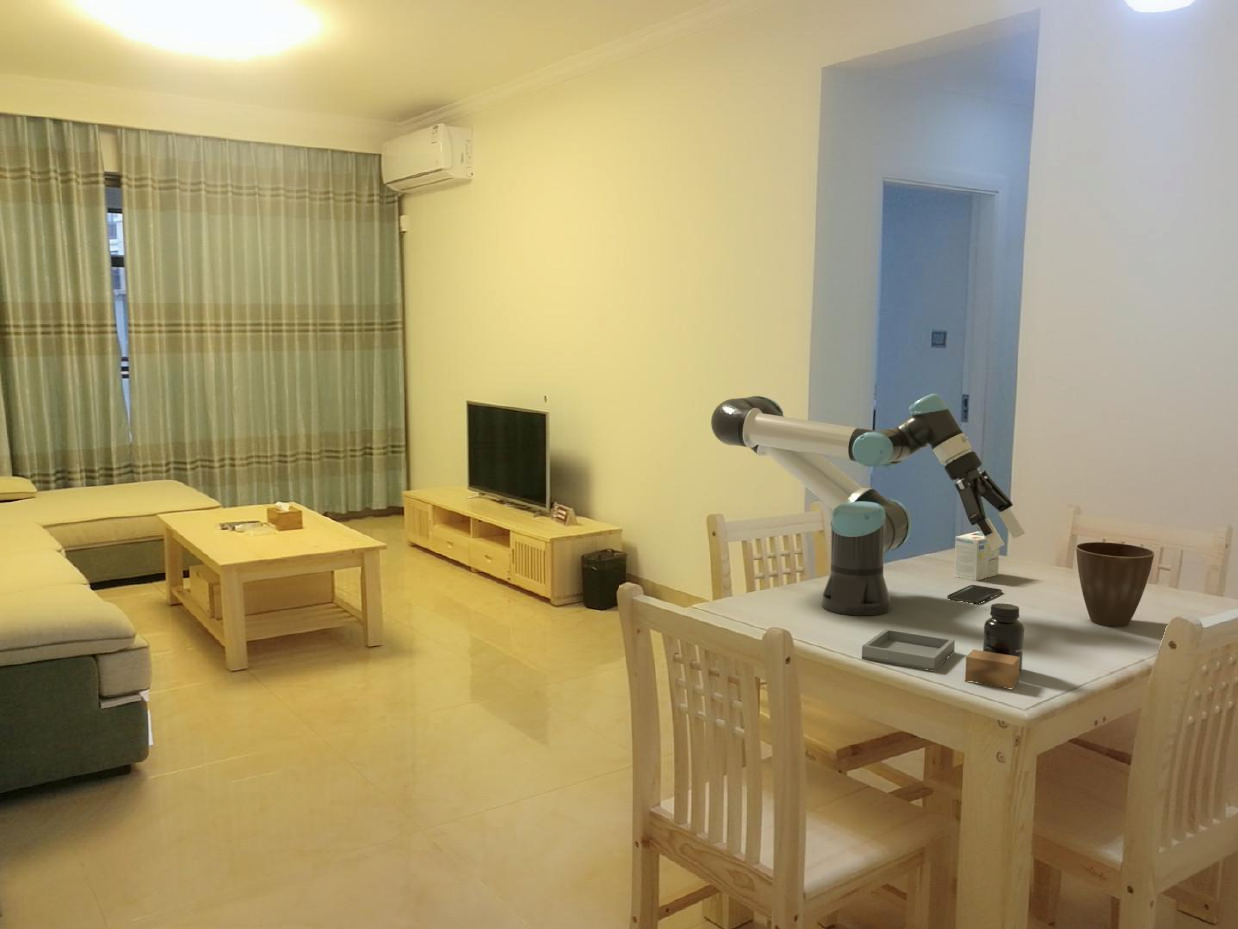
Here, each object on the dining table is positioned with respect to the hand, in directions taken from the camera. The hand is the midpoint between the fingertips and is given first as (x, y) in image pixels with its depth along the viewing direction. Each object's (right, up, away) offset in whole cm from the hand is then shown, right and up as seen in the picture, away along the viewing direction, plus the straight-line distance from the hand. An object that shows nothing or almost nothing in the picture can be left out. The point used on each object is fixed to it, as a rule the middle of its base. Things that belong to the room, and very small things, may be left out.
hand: (1009, 541), depth 216 cm
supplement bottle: (-15, -21, -34) cm, 43 cm away
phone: (-1, -15, +19) cm, 24 cm away
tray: (-30, -20, -26) cm, 44 cm away
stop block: (-19, -22, -41) cm, 50 cm away
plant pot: (+20, -17, -4) cm, 27 cm away
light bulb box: (+7, -12, +39) cm, 41 cm away
